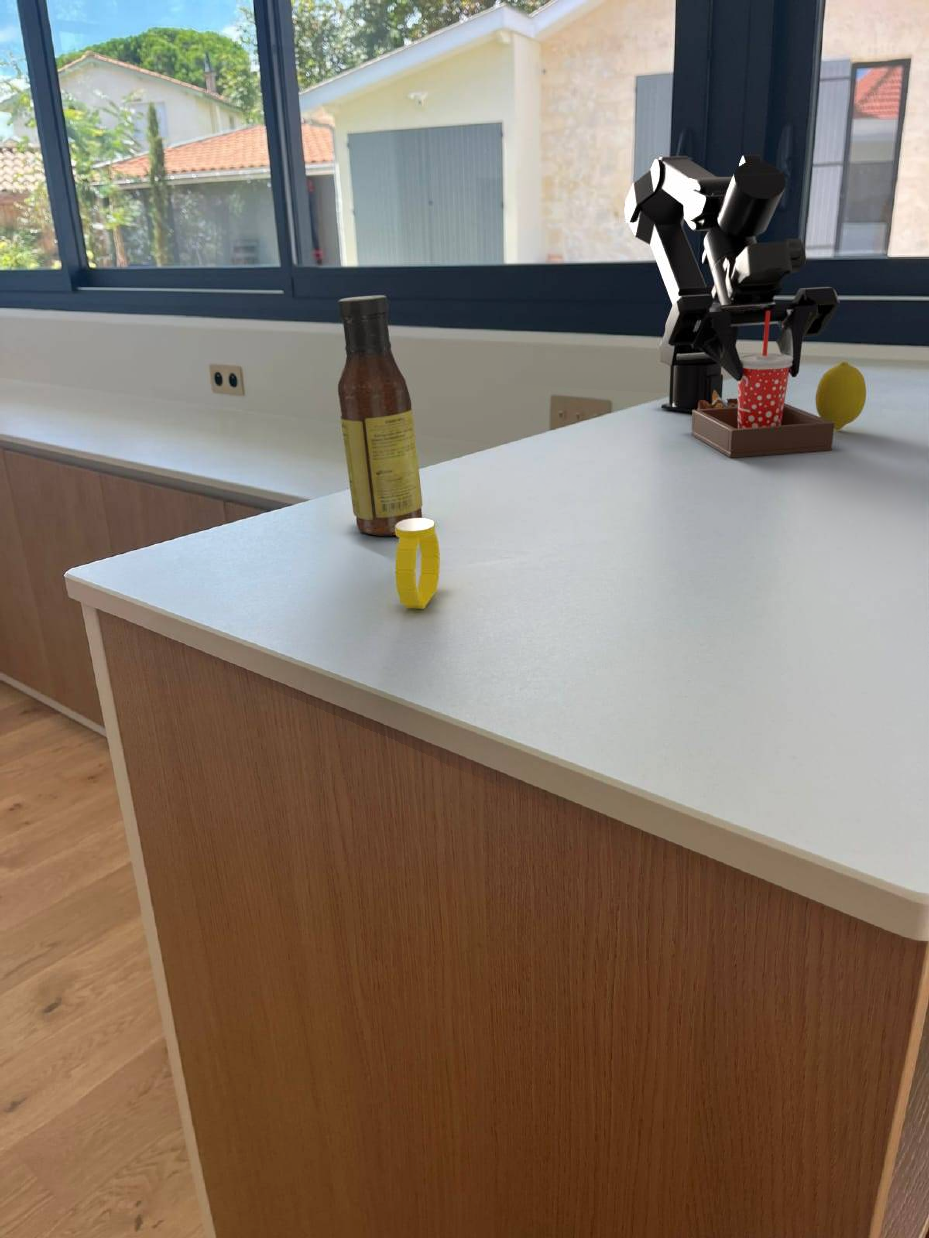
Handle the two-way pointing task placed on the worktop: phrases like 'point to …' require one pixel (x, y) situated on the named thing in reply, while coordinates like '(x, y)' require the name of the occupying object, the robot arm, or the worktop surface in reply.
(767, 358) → the beverage cup
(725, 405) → the pastry
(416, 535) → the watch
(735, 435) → the tray
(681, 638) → the worktop surface
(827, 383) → the lemon
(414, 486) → the sauce bottle
